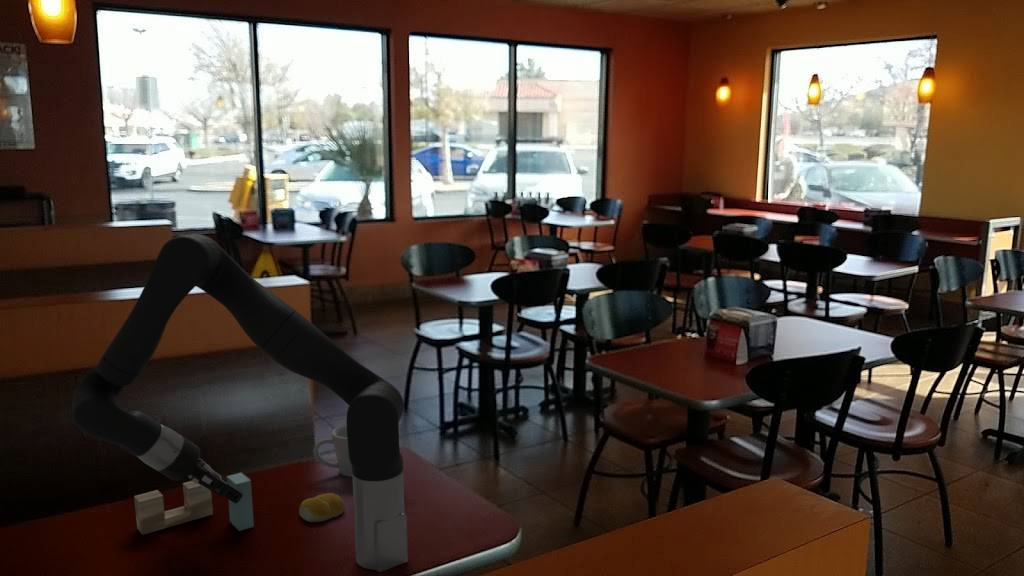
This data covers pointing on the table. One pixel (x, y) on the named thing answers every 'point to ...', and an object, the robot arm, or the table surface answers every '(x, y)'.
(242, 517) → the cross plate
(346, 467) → the mug
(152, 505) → the slot plate
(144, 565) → the table surface
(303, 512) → the bread roll
